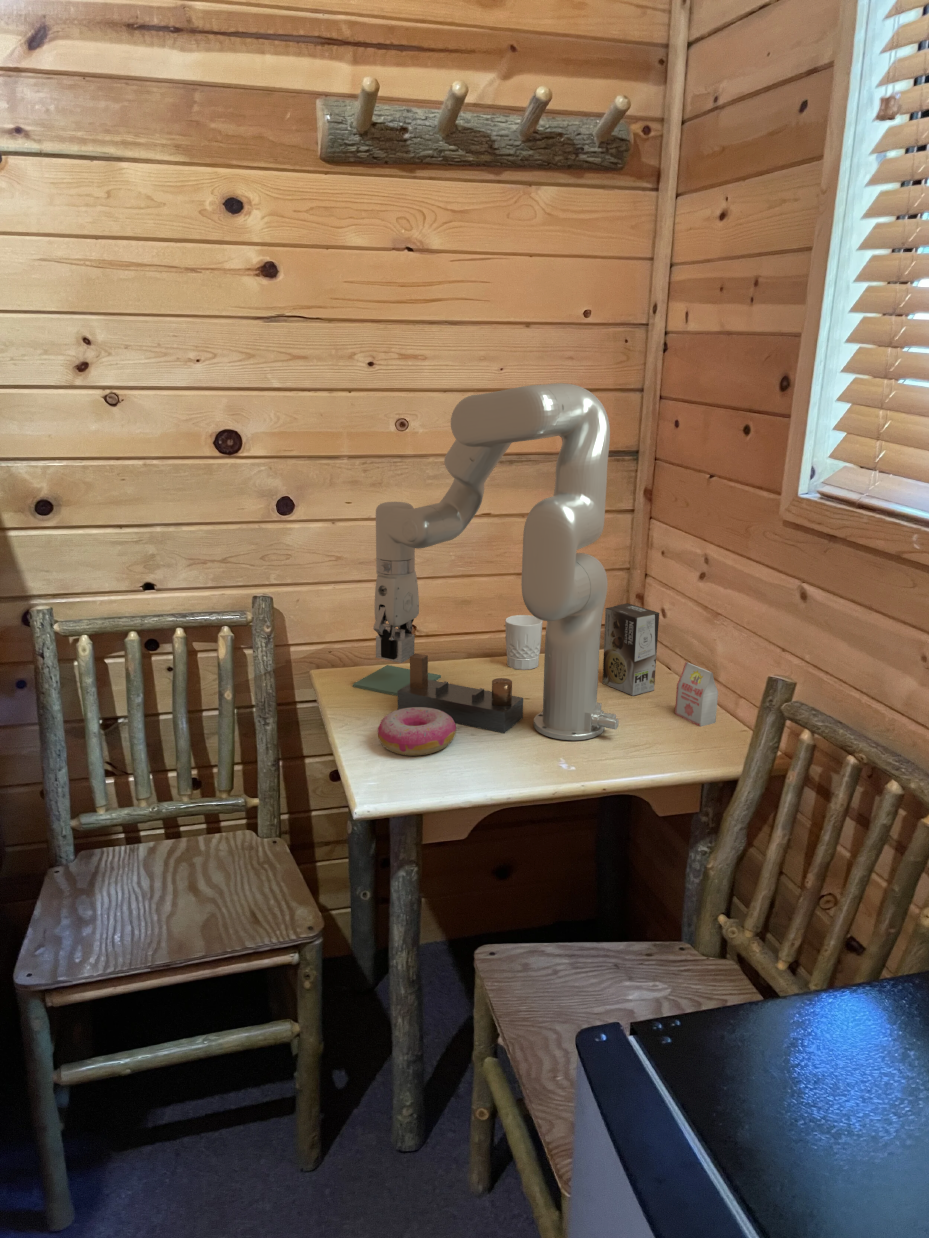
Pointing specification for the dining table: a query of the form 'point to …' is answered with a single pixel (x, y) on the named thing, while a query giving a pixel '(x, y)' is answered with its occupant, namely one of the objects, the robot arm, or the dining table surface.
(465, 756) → the dining table surface
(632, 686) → the coffee box
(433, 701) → the plane body
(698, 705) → the white gable carton
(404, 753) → the donut
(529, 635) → the white cup
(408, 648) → the lever cap
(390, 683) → the rubber mat
